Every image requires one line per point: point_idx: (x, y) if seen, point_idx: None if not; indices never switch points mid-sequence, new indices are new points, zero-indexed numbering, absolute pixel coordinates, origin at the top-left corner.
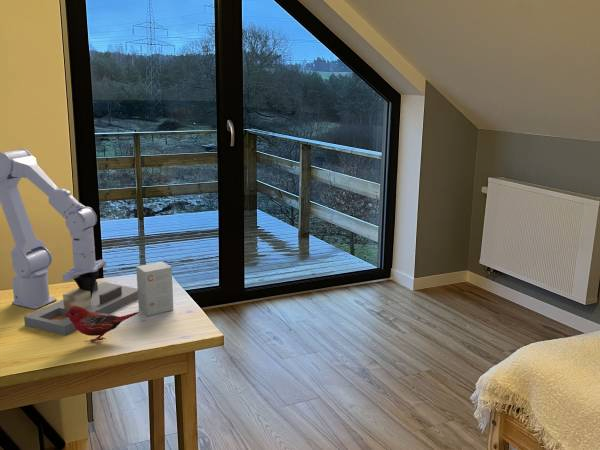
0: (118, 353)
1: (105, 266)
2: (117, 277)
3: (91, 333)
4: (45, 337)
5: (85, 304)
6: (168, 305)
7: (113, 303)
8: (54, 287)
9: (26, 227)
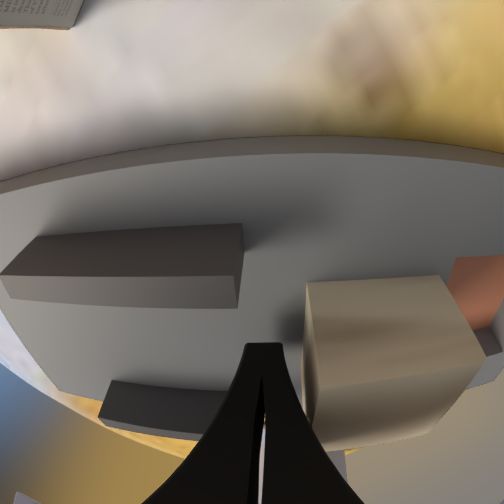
0: None
1: (22, 498)
2: (16, 372)
3: None
4: None
5: (376, 296)
6: None
7: (163, 160)
8: (185, 451)
9: None
